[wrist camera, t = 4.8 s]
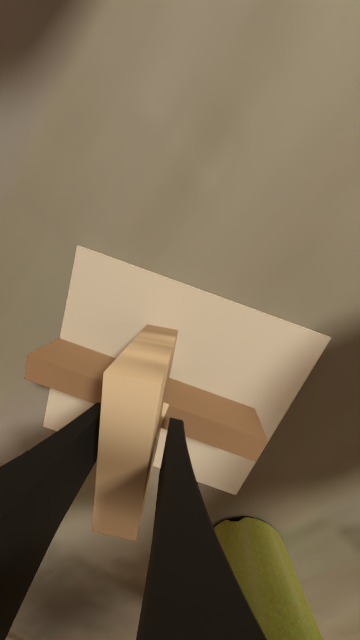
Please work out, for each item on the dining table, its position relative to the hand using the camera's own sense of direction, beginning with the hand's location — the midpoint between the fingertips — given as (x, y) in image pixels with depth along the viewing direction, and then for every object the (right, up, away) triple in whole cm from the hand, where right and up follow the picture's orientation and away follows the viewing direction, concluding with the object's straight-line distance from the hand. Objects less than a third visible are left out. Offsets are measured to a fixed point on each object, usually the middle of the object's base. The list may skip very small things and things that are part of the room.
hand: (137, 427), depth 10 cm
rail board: (+1, +1, +4) cm, 4 cm away
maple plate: (0, +1, +4) cm, 4 cm away
